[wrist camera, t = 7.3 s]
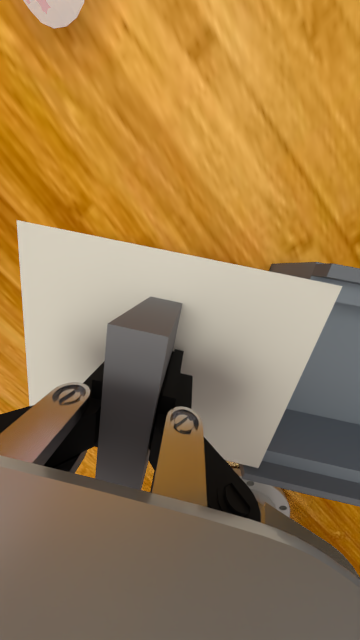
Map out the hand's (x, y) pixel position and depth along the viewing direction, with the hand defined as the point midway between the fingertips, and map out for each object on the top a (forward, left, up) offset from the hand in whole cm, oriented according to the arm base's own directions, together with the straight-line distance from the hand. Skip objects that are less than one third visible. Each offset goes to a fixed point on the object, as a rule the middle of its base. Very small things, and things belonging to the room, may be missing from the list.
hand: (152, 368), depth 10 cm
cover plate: (0, 0, -1) cm, 1 cm away
